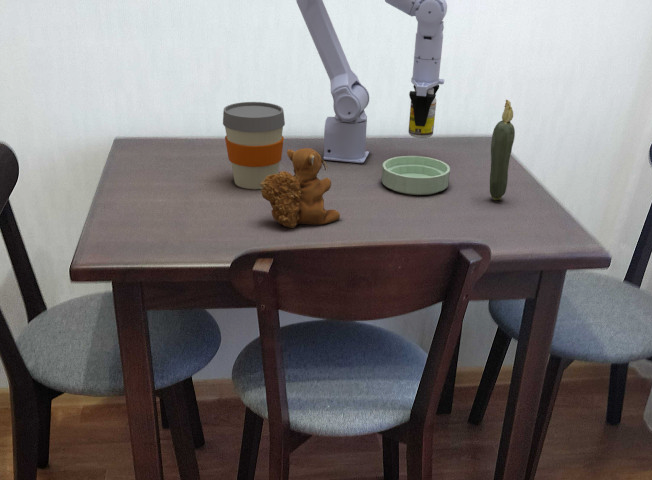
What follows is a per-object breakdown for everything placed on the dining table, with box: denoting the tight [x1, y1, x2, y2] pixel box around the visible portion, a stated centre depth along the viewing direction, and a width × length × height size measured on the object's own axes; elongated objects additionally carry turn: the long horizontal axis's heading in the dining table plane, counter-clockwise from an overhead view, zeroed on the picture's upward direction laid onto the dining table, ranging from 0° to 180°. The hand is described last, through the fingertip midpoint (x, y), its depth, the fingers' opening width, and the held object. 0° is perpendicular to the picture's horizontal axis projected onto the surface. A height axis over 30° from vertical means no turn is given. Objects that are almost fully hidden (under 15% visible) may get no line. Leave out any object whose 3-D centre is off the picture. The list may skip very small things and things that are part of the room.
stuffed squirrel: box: [259, 147, 341, 229], centre depth 143 cm, size 10×14×13 cm
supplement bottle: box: [407, 87, 437, 139], centre depth 169 cm, size 6×6×10 cm
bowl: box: [381, 155, 451, 196], centre depth 164 cm, size 14×14×4 cm
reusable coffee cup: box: [222, 101, 286, 190], centre depth 159 cm, size 13×13×15 cm
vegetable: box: [489, 99, 516, 201], centre depth 153 cm, size 4×4×20 cm
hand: (421, 122), depth 171 cm, fingers closed on supplement bottle, 5 cm apart
